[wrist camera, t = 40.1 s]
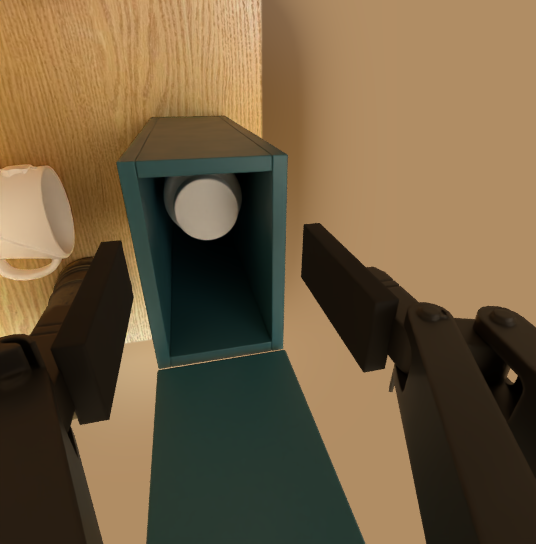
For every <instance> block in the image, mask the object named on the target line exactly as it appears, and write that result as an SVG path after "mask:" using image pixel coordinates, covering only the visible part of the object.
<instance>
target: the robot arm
mask: <svg viewBox="0 0 536 544" xmlns="http://www.w3.org/2000/svg"><path fill="white" fill-rule="evenodd" d="M301 277H302V279H303V281H304V282H305V284H306V285H307V287H308V288H309V290H310V291H311V293H312V294H313V296H314V297H315V299H316V300H317V302H318V303H319V305H320V307H321V308H322V309H323V311H324V313H325V314H326V315H327V317H328V319H329V320H330V322H331V323H332V325H333V326H334V328H335V329H336V331H337V333H338V334H339V336H340V337H341V339H342V340H343V342H344V343H345V345H346V346H347V348H348V349H349V351H350V352H351V354H352V355H353V357H354V358H355V360H356V362H357V363H358V365H359V366H360V368H361V369H362V371H363V372H369V371H374V370H380V369H384V368H385V365H386V360H387V355H389V357H390V358H391V359H392V360H393V362H394V363H395V364H394V369H393V373H392V377H391V382H390V386H389V392H393V387H394V386H395V388H396V393H397V398H398V403H399V408H400V413H401V419H402V423H403V428H404V433H405V439H406V444H407V448H408V453H409V459H410V464H411V469H412V474H413V479H414V484H415V488H416V494H417V499H418V504H419V509H420V514H421V519H422V524H423V528H424V534H425V539H426V544H536V327H534V326H533V325H532V324H531V323H530V322H528V321H527V320H526V319H525V318H524V317H522V316H520V315H519V314H517V313H516V312H513V311H511V310H509V309H507V308H502V307H498V306H486V307H482V308H480V309H479V310H478V312H477V315H476V318H475V319H461V318H453V316H452V315H451V314H450V312H449V311H447V310H446V309H444V308H443V307H440V306H438V305H435V304H431V303H426V302H420V303H419V302H418V301H417V300H416V299H415V298H413V297H412V296H411V295H410V294H409V293H408V292H407V291H405V290H404V289H403V288H402V287H401V286H399V284H398V283H396V282H395V281H393V279H392V278H391V277H390V276H389V275H388V274H386V273H385V272H384V271H381V270H379V269H377V268H375V267H367V268H366V267H365V266H364V265H363V264H362V263H361V262H360V261H359V260H358V259H357V258H355V256H353V255H352V254H351V253H350V252H349V251H348V250H347V249H346V248H345V247H344V246H343V245H342V244H341V243H340V242H339V241H338V240H337V239H336V238H335V237H334V236H333V235H332V234H330V233H329V232H328V231H327V230H326V229H325V228H324V227H323V226H322V225H321V224H320V223H315V224H304V230H303V252H302V271H301ZM133 298H134V296H133V292H132V287H131V283H130V278H129V274H128V269H127V265H126V260H125V256H124V251H123V247H122V242H121V241H109V242H101V244H100V246H99V248H98V250H97V252H96V254H95V256H94V258H93V260H92V262H91V265H90V267H89V269H88V271H87V273H86V275H85V277H84V279H83V281H82V283H81V285H80V288H79V290H78V292H77V294H76V296H75V298H74V300H73V302H72V304H64V305H55V306H53V307H52V308H51V309H49V310H48V311H47V312H46V313H44V314H43V315H42V316H41V318H40V320H39V322H38V323H37V325H36V328H34V330H33V332H32V334H31V336H29V335H25V334H13V335H9V336H4V337H0V544H103V541H102V537H101V534H100V530H99V526H98V522H97V519H96V515H95V511H94V507H93V503H92V500H91V496H90V492H89V488H88V485H87V481H86V477H85V473H84V470H83V466H82V462H81V458H80V455H79V451H78V447H77V443H76V440H75V436H74V433H73V431H72V428H71V426H70V425H71V422H72V419H73V416H74V412H75V413H76V416H77V418H78V421H79V423H80V425H82V424H88V423H93V422H99V421H104V420H109V418H110V413H111V407H112V403H113V398H114V393H115V387H116V383H117V378H118V373H119V368H120V363H121V358H122V353H123V348H124V343H125V338H126V333H127V328H128V323H129V318H130V313H131V308H132V303H133ZM510 368H511V369H512V370H513V371H514V372H515V373H516V374H517V375H518V377H517V380H516V382H515V383H512V382H511V381H510V380H509V379H508V378H507V374H508V372H509V370H510Z"/></svg>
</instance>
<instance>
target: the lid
mask: <svg viewBox="0 0 536 544" xmlns="http://www.w3.org/2000/svg"><path fill="white" fill-rule="evenodd" d="M147 526H148V527H147V542H146V544H365V542H364V539H363V537H362V534H361V532H360V529H359V527H358V525H357V522H356V520H355V517H354V515H353V513H352V510H351V508H350V506H349V503H348V501H347V498H346V496H345V493H344V491H343V489H342V486H341V484H340V481H339V479H338V476H337V474H336V472H335V469H334V467H333V465H332V462H331V459H330V457H329V455H328V452H327V450H326V448H325V445H324V443H323V440H322V438H321V436H320V433H319V431H318V428H317V426H316V423H315V421H314V419H313V416H312V414H311V411H310V409H309V407H308V404H307V402H306V399H305V397H304V394H303V392H302V390H301V387H300V385H299V383H298V380H297V377H296V375H295V373H294V370H293V368H292V365H291V363H290V361H289V359H288V356H287V353H286V351H285V350H280V351H275V352H268V353H262V354H256V355H250V356H243V357H238V358H232V359H225V360H219V361H212V362H206V363H200V364H194V365H188V366H182V367H175V368H170V369H163V370H158V373H157V387H156V403H155V418H154V433H153V449H152V464H151V480H150V495H149V510H148V525H147Z"/></svg>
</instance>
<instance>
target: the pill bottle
mask: <svg viewBox="0 0 536 544" xmlns="http://www.w3.org/2000/svg"><path fill="white" fill-rule="evenodd" d="M163 194H164V204H165V208H166V210H167V212H168V214H169V216H170V218H171V219H172V220H173V221H174V222H175V223H176V224H177V225H178V226H179V227H181V229H182V230H183V231H184V232H185V233H187V234H188V235H190V236H191V237H194V238H196V239H201V240H212V239H216V238H219V237H221V236H223V235H225V234H226V233H228V232H229V231H230V230H231V228H232V227H233V226H234V224H235V222H236V220H237V217H238V213H239V211H240V208H241V203H242V192H241V187H240V184H239V182H238V179H237V178H236V176H235V174H234V173H229V174H210V175H192V176H173V177H165V181H164V192H163Z"/></svg>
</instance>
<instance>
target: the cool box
mask: <svg viewBox="0 0 536 544" xmlns="http://www.w3.org/2000/svg"><path fill="white" fill-rule="evenodd" d="M287 162H288V155H287V154H285V153H284V152H282V151H281V150H279V149H277V148H275V147H274V146H273V145H271V144H269V143H268V142H266V141H264V140H263V139H261V138H260V137H258V136H256V135H255V134H253V133H252V132H250V131H248V130H247V129H245V128H243V127H242V126H240V125H239V124H237V123H235V122H234V121H232V120H231V119H229V118H227V117H226V116H193V117H151V118H150V120H149V121H148V122H147V124H146V125H145V126H144V127H143V129H142V130H141V131H140V133H139V134H138V135H137V136H136V138H135V139H134V140H133V142H132V143H131V144H130V145H129V147H128V148H127V149H126V151H125V152H124V153H123V154H122V156H121V157H120V158H119V160H118V161H117V162H116V164H117V169H118V174H119V179H120V184H121V189H122V193H123V198H124V203H125V208H126V213H127V218H128V222H129V227H130V232H131V237H132V242H133V247H134V252H135V256H136V261H137V266H138V271H139V276H140V281H141V285H142V290H143V295H144V300H145V305H146V310H147V315H148V319H149V324H150V329H151V334H152V339H153V344H154V348H155V353H156V358H157V363H158V368H159V369H161V368H167V367H171V366H172V367H174V366H180V365H186V364H192V363H199V362H204V361H211V360H217V359H223V358H229V357H236V356H242V355H248V354H254V353H260V352H267V351H271V350H272V351H273V350H279V349H283V329H284V287H285V246H286V245H285V244H286V203H287ZM229 173H234V174H235V176H236V178H237V179H238V182H239V184H240V187H241V192H242V203H241V208H240V211H239V213H238V217H237V220H236V222H235V224H234V226H233V227H232V228H231V230H230V231H229V232H228V233H226V234H225V235H223V236H221V237H219V238H216V239H212V240H201V239H196V238H194V237H191V236H190V235H188V234H187V233H185V232H184V231H183V230H182V229H181V227H179V226H178V225H177V224H176V223H175V222H174V221H173V220H172V219H171V218H170V216H169V214H168V212H167V210H166V208H165V204H164V194H163V192H164V181H165V177H173V176H192V175H210V174H229Z"/></svg>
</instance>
